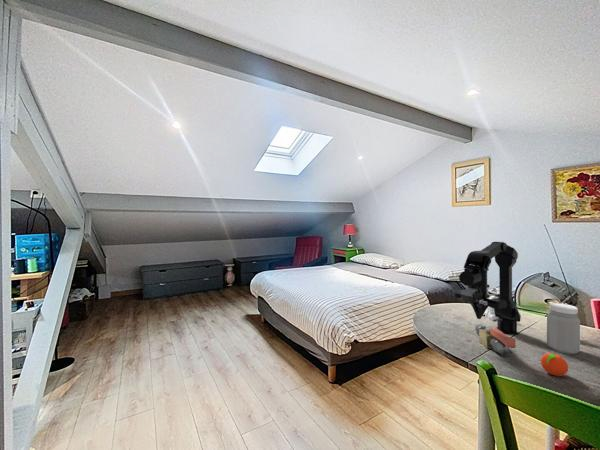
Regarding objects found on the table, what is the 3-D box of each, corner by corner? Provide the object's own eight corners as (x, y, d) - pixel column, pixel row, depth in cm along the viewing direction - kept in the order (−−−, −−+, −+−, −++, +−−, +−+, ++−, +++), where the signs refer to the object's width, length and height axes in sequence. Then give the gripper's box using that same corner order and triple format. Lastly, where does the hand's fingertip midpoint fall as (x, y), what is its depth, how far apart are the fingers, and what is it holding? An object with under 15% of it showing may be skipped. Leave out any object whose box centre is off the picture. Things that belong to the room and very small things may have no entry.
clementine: (559, 383, 88) (560, 361, 88) (534, 372, 95) (534, 352, 94) (572, 377, 91) (572, 356, 91) (547, 367, 98) (547, 347, 98)
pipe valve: (472, 334, 125) (472, 323, 125) (487, 335, 124) (487, 324, 124) (495, 356, 105) (495, 342, 105) (513, 358, 104) (513, 344, 104)
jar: (541, 346, 113) (542, 304, 113) (554, 342, 117) (554, 301, 117) (572, 357, 104) (573, 311, 104) (584, 352, 108) (585, 307, 108)
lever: (483, 330, 117) (483, 322, 117) (493, 330, 116) (493, 323, 116) (507, 348, 100) (507, 339, 100) (518, 348, 100) (519, 340, 100)
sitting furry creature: (477, 314, 151) (477, 293, 151) (491, 313, 152) (491, 292, 152) (491, 320, 142) (491, 298, 141) (506, 320, 143) (506, 297, 142)
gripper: (445, 279, 119) (445, 314, 119) (489, 289, 101) (489, 330, 102) (463, 276, 123) (463, 310, 123) (507, 286, 106) (507, 325, 106)
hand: (478, 318), depth 113 cm, fingers closed
